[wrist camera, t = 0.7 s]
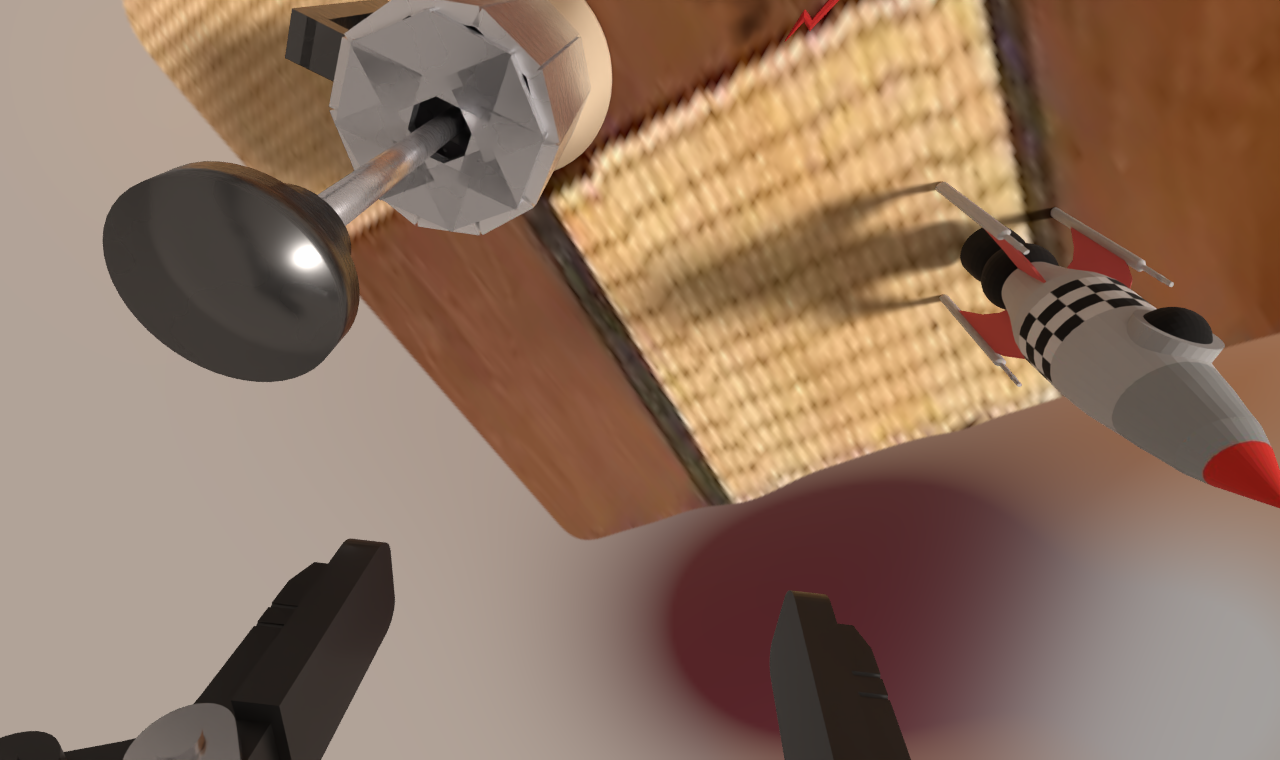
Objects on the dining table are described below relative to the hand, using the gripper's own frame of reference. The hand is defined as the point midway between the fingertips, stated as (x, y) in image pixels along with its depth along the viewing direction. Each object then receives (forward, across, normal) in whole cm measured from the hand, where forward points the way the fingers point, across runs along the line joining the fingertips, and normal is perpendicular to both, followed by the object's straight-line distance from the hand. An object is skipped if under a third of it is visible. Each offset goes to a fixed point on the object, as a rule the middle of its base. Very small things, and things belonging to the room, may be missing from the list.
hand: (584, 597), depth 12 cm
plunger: (+21, +9, -7) cm, 24 cm away
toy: (+35, -23, -1) cm, 42 cm away
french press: (+32, +10, -9) cm, 35 cm away
